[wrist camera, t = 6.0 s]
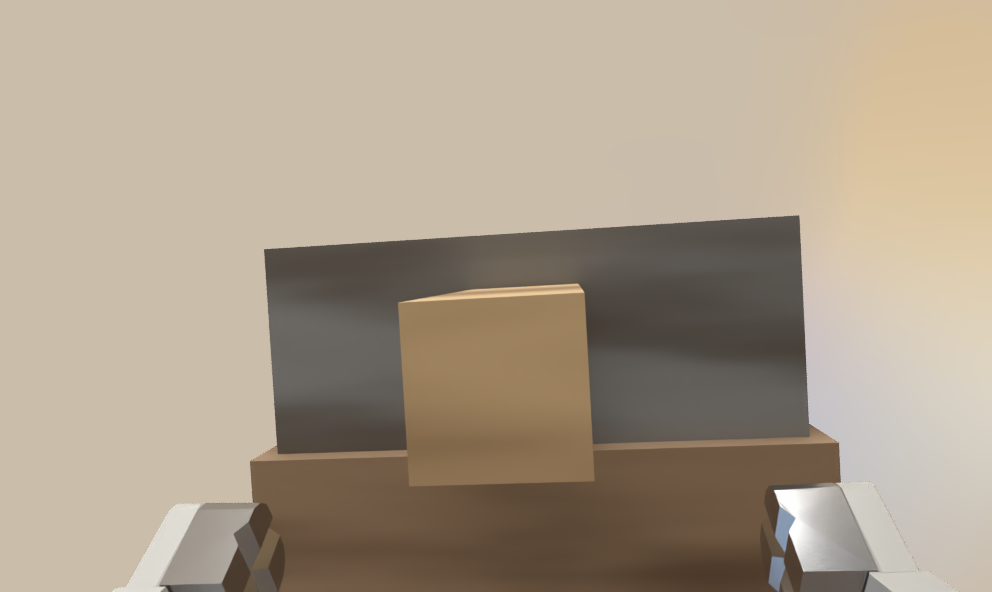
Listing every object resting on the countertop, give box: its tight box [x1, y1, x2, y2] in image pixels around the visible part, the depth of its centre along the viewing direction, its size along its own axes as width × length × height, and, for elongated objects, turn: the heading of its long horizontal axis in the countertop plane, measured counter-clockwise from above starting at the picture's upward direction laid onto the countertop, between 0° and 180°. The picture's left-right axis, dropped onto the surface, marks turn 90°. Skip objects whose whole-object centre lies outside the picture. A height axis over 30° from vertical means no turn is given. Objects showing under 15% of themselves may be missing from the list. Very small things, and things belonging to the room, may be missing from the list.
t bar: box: [264, 216, 809, 486], centre depth 18 cm, size 12×15×6 cm
